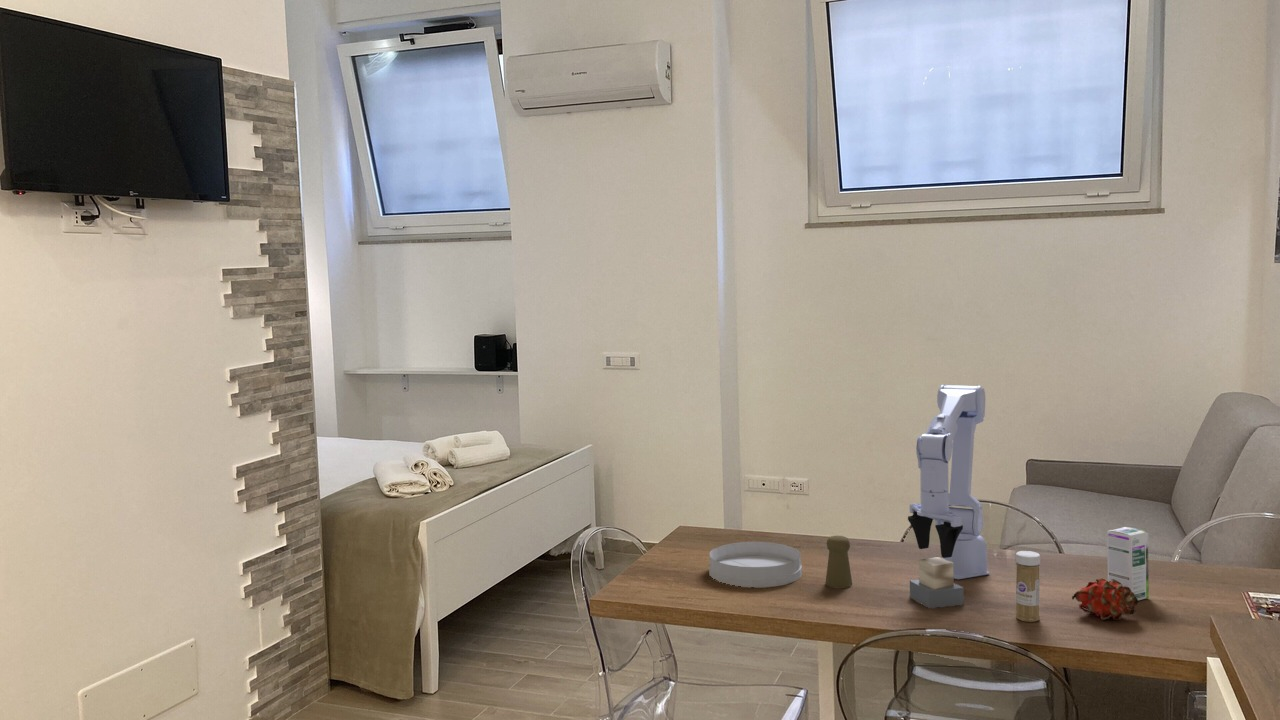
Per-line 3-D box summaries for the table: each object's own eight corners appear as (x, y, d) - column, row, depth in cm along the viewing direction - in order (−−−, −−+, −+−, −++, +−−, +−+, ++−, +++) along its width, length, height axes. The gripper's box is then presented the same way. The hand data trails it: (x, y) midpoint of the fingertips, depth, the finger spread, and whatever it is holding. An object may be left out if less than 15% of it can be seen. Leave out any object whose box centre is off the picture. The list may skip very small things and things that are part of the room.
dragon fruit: (1143, 631, 186) (1077, 631, 192) (1141, 596, 192) (1076, 596, 198) (1136, 604, 182) (1068, 605, 188) (1134, 569, 188) (1068, 570, 194)
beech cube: (938, 579, 206) (938, 556, 206) (953, 585, 202) (953, 562, 201) (919, 582, 204) (918, 559, 204) (934, 589, 200) (933, 565, 199)
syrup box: (1131, 603, 198) (1132, 535, 197) (1106, 595, 203) (1106, 529, 202) (1149, 598, 200) (1149, 531, 199) (1123, 591, 206) (1124, 525, 205)
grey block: (942, 594, 208) (942, 576, 208) (963, 606, 200) (963, 587, 200) (909, 598, 206) (909, 580, 206) (929, 610, 199) (929, 591, 198)
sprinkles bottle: (1012, 619, 191) (1012, 554, 190) (1020, 613, 194) (1020, 548, 193) (1036, 624, 188) (1036, 557, 187) (1043, 617, 191) (1043, 552, 190)
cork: (852, 588, 213) (851, 540, 212) (825, 587, 214) (824, 539, 214) (852, 580, 219) (851, 533, 218) (825, 579, 220) (824, 532, 219)
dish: (821, 576, 224) (821, 555, 224) (750, 595, 212) (750, 573, 211) (759, 555, 242) (758, 536, 242) (690, 572, 230) (689, 552, 230)
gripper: (897, 485, 207) (898, 546, 208) (941, 498, 194) (942, 563, 195) (924, 482, 210) (924, 542, 211) (969, 494, 196) (969, 559, 197)
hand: (935, 552), depth 203 cm, fingers open, 7 cm apart
